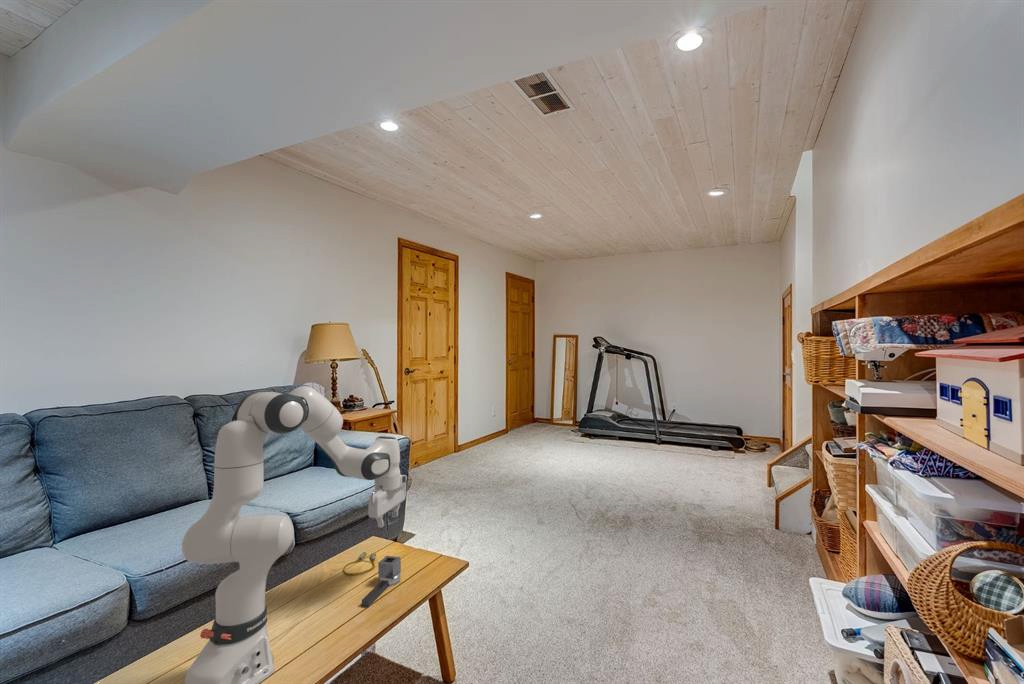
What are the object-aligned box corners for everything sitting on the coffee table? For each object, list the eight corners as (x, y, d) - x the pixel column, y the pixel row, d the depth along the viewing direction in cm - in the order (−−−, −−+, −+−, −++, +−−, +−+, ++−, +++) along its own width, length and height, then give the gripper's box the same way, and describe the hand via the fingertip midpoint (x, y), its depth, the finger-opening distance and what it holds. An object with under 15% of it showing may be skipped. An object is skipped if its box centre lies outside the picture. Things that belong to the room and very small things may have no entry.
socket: (393, 579, 159) (392, 564, 159) (378, 577, 160) (378, 562, 160) (400, 571, 164) (400, 557, 164) (386, 569, 165) (386, 555, 165)
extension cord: (389, 561, 178) (388, 555, 178) (357, 579, 164) (357, 574, 164) (365, 554, 184) (365, 549, 184) (333, 572, 170) (333, 567, 170)
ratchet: (375, 608, 146) (374, 590, 146) (355, 605, 147) (355, 588, 147) (404, 577, 165) (403, 561, 165) (386, 575, 166) (386, 560, 166)
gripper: (380, 491, 151) (380, 534, 151) (409, 474, 171) (409, 512, 171) (363, 490, 153) (363, 532, 152) (393, 473, 172) (394, 511, 172)
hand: (388, 521), depth 162 cm, fingers open, 8 cm apart
